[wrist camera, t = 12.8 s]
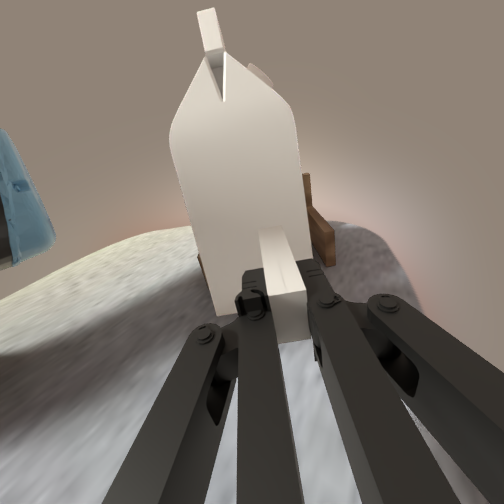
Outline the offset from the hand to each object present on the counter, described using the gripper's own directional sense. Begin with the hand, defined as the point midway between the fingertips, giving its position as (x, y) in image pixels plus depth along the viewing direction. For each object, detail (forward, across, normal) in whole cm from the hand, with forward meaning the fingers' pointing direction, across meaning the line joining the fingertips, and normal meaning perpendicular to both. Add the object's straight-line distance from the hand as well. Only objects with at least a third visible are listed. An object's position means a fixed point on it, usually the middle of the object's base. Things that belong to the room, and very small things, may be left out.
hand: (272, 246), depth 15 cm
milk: (+13, -1, -11) cm, 17 cm away
